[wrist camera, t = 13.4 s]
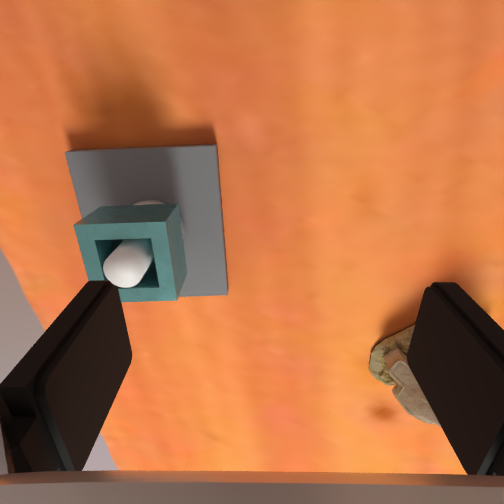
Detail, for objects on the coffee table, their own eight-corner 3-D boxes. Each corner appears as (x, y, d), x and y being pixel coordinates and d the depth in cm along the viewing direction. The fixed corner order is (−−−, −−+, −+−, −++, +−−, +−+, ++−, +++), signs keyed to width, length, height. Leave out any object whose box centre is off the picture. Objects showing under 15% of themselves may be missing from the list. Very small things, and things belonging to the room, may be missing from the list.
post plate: (72, 149, 32) (-3, 170, 23) (217, 143, 32) (202, 161, 22) (108, 292, 39) (61, 354, 29) (228, 288, 39) (220, 349, 29)
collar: (100, 206, 30) (73, 224, 25) (178, 203, 30) (165, 221, 25) (116, 275, 33) (94, 303, 28) (187, 272, 33) (177, 300, 28)
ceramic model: (412, 399, 46) (452, 473, 37) (353, 363, 43) (381, 432, 34) (497, 333, 42) (566, 398, 32) (436, 287, 39) (494, 344, 30)
